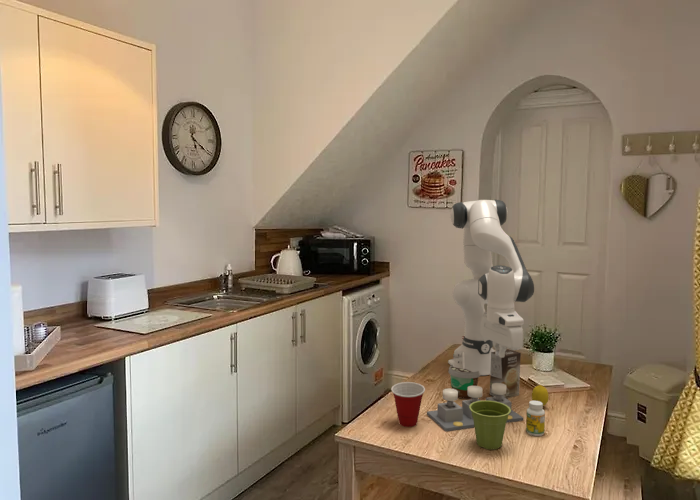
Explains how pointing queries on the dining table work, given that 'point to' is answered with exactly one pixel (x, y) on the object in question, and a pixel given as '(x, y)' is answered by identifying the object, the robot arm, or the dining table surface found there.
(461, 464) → the dining table surface
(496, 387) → the button
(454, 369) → the food container
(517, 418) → the button board
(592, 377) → the dining table surface
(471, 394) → the button
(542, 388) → the lemon
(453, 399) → the button
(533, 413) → the supplement bottle
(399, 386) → the plastic cup
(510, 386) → the coffee box
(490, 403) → the plant pot
